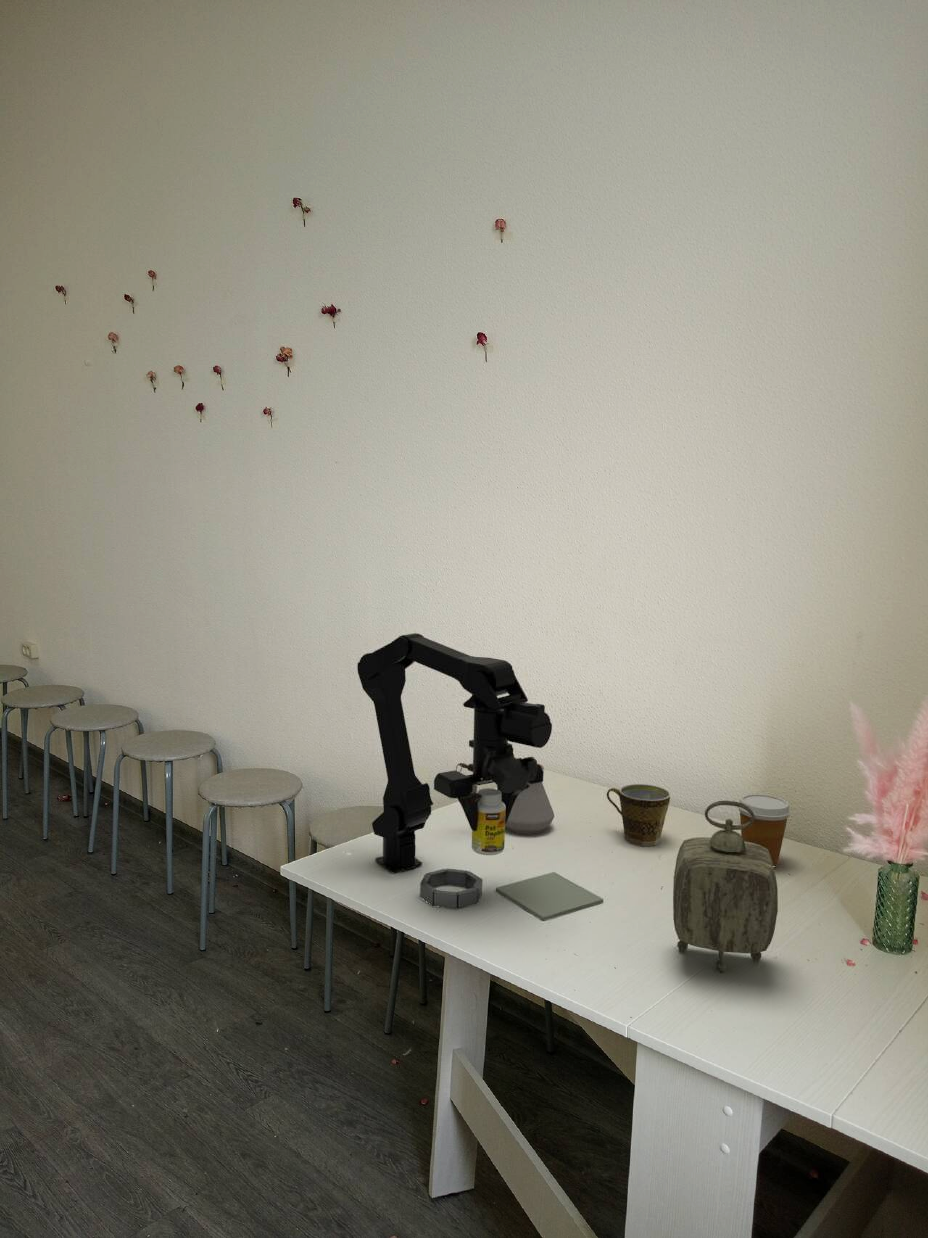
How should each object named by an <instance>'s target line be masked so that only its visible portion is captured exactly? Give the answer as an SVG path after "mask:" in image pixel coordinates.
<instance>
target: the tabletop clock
mask: <svg viewBox="0 0 928 1238" xmlns="http://www.w3.org/2000/svg"><path fill="white" fill-rule="evenodd" d="M739 802H740V801H735V800H718V801H715V802H712V803H711V804H709V805H708V806H707V807H706V808H705V810H704V818H705V820H706V821H707V822H708V824H710V825H711V826H714V827H716V828H718V829H720V830H717V831H716V832H714V833H713V834H712V835H711V837H707V836H705V837H703V836H702V837H701V836H699V837H697V836H696V837H692V838H688V839H685V840H683V841H682V843H681V845H680V847H679V849H678V852H677V857H676V860H675V867H674V874H673V885H672V886H673V887H672V888H673V890H672V892H673V893H672V896H673V897H672V904H673V905H672V908H673V909H672V911H673V917H672V918H673V925H674V931H675V933H676V935H677V938H678V940H679V941H677V945H676V947H677V948H678V950H679V951H681V952H684V951H686V950H688V948H689V946H693V947H696V948H700V949H701V948H702V949H706V950H711V951H716V952H718V953H717V954H718V960H717V961H715V963H714V968H715V970H716V971H717V972H719V973H724V972H725V971H726V969H727V964H726V963H725V961H724V953H735V954H750V958H751V959H752V961H756V962H757V961H760V960H761V959H762V952H765V951H767V950H768V949H769V947H770V945H771V943H772V940H773V937H774V935H775V929H776V923H777V917H778V911H779V908H778V904H779V900H778V899H779V898H778V895H779V892H778V882H777V876H776V872H775V868H774V867H773V863H772V859H771V856H770V853H769V851H768V849H766V848H764V847H762V846H760V845H758V844H755V843H750V842H745V841H744V839H743V837H742V836H741V833H739V832H737V831H741V829H745V828H748V827H749V826H751V825H752V824H753V822H754V820H755V816H754V813H753V811H752V810H751V809H750V808H749V807H748V806H746V805H744V804H743V803H739ZM719 806H730V807H737V808H738V807H741V808H743V809H745V810H746V811H748V812H749V813H750V815H751V817H752V819H751V821H750V822H749V823H746V824H743V825H741V824H733V823H734V822H733V819H730V818H728V819H726V820H725V823H721V822H718V821H715V820H713V819H711V818H710V817H709V812H710V811H711V810H712V809H714V808H715V807H719Z"/></svg>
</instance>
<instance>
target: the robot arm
mask: <svg viewBox="0 0 928 1238" xmlns="http://www.w3.org/2000/svg"><path fill="white" fill-rule="evenodd" d="M414 663H417V664H419V665H422V666H424V667H427V668H429V669H431V670H434V671H436V672H438V673H440V674H443V675H445V676H447V677H450V678H452V679H454V680H456V681H457V682H458V683H459V684H460V685H461V687H462V688H463V689H464V690H465V691H466V692H468V693H469V694H471V696H470V697H469V698H468V699H467V700H466V701H464V702H463V704H462V705H463V707H464V708H469V709H473V737H472V739H469V740H468V747H470V748H471V749H473V750H472V752H473V753H472V763H469V764H468V765H469V770H468V771H469V772H472V774H467V775H466V774H464V773H462V772H460V771H458V770H457V771H456V769H455V770H450V771H449V770H448V771H443V772H438V773H437V774H436V775H435V776H434V779H433V790H434V791H437V792H438V793H440V794H442V795H444V796H445V797H447V798H449V799H457V800H458V802H459V803H460V806H461V809H462V810H463V813H464V816H465V818H466V820H467V823H468V825H469V827H470V829H471V831H472V830H473V831H476V830H477V824H478V801H479V800H480V799H481V797H482V795H480V794H478V786H482V785H487V784H493V783H494V784H496V789H497V790H500V791H501V798H502V799H501V801H502V802H503V803H504V804H505V806H506V813H505V824H506V823H507V820H508V818H509V815H510V812H511V810H512V807H513V805H514V802H515V800H516V798H517V796H518V795H519V794H520V793H521V792H522V791H524V790H525V789H528V788H529V785H527V782H528V783H529V784H534V783H539V782H542V783H543V782H544V770H543V769H542V767H541V766H540V765H541V764H540V765H539V763H538V761H537V759H536V758H535V757H534V756H528V757H524V758H522V757H519V758H516V757H515V754H514V746H513V744H511V743H514V744H518V745H524V746H528V747H533V748H537V749H541V748H543V747H545V746H546V745H547V744H548V742H549V740H550V737H551V736H552V731H553V724H552V722H551V719H550V716H549V714H548V713H547V712H546V711H545V709H546V707H545V704H541V703H528V701H529V700H528V699H529V698H528V697H527V694H526V693H525V691H524V690H523V688H522V686H521V684H520V682H519V680H518V678H517V676H516V674H515V671H514V669H513V665H512V664H511V663H510V662H509V661H507V660H504V659H499V658H493V657H483V656H473V655H469V654H467V653H465V652H461V651H459V650H457V649H454V648H452V647H449V646H448V645H447V646H446V645H445V644H442V643H439V642H436V641H435V640H431V639H429V638H427V637H424V636H423V635H422V634H421V633H420V634H419V633H416V632H414V633H407V634H402V635H399V636H398V637H396V638H395V639H393V640H392V641H391V642H389V643H388V644H386V645H383V646H382V647H380V648H378V649H376V650H373V652H369V653H364V654H363V655H362V656H361V657H360V659H359V661H358V662H357V666H356V668H357V674H358V677H359V680H360V684H361V687H362V690H363V691H364V692H365V694H366V695H367V696H368V698H369V699H370V700H371V701H372V702H373V705H374V710H375V716H376V722H377V727H378V732H379V733H378V734H379V738H380V743H381V749H382V755H383V761H384V766H385V771H386V772H385V773H386V777H387V783H386V787H385V790H384V793H383V797H382V806H383V812H382V813H381V814H380V815H379V816H377V817H376V818H375V819H374V820H373V821H371V822H372V823H371V827H372V830H373V834H374V835H375V836H378V837H380V838H381V837H382V856H378V857H375V859H374V860H375V862H377V863H378V864H379V865H380V866H382V867H383V868H385V869H386V870H387V871H389V872H390V873H397V872H402V871H406V870H408V869H414V868H417V867H421V866H423V862H422V861H420V860H419V859H417V858H416V849H417V848H416V846H417V845H416V833H415V832H416V831H418V830H422V829H424V828H425V825H426V822H427V820H428V819H429V817H430V816H431V815H432V806H433V805H434V802H433V800H432V797H431V791H430V789H431V788H430V785H429V783H427V782H426V783H422V782H421V781H420V779H419V778H418V777H417V775H416V773H415V768H414V764H413V763H414V761H413V757H412V750H411V744H410V741H409V736H408V730H407V724H406V720H405V719H406V718H405V714H404V709H403V703H402V694H403V692H404V688H405V684H406V679H407V678H406V677H407V676H406V669H408V668H409V667H410V666H411V665H413V664H414ZM506 694H508V695H506ZM503 695H505V696H503ZM499 696H500V697H499ZM509 742H510V743H509Z"/></svg>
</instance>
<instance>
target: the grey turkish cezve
mask: <svg viewBox="0 0 928 1238" xmlns="http://www.w3.org/2000/svg"><path fill="white" fill-rule="evenodd" d="M538 764H539V763H538ZM539 765H540V766H541V767H542V769H543V771H544V769H545V767H544V765H542V764H539ZM459 766H460V770H459V772H460V773H462V769H467V771H469V764H466V763H465V762H460V763H458V764H457V765H456V767H455V770H456V771H458V767H459ZM527 785H529V788H528V789H525V790H524V791H522V792H521V793H520V794H519V795H518V796H517V798H516V800H515V802H514V805H513V807H512V810H511V812H510V815H509V818H508V820H507V823H506V824H505V827H507V829H508V830H510V831H511V832H513V833H517V834H522V835H533V834H539V833H542V832H543V831H544V830H545V829H546V828H548V827H549V826H550V825H551V824H552V822H553V820H554V818H555V813H554V810H553V807H552V804H551V802H550V799H549V797H548V794H547V792H546V789H545V785H544V784H543V782H539V783H534V784H529V783H528V782H527Z"/></svg>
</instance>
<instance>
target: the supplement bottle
mask: <svg viewBox="0 0 928 1238" xmlns="http://www.w3.org/2000/svg"><path fill="white" fill-rule="evenodd" d="M477 793H478V794H480V795H482V797H481V799H480V800H479V801H478V824H477V830H476V831H473V830H472V829H471V849H472V851H473V852H474V853H476V854H478V855H481V856H482V855H483V856H496V855H499V854H501V853H502V852H503V851H504V850H505V844H506V843H505V841H506V840H505V838H506V837H505V836H506V825H505V813H506V806H505V804H504V803H503V802H502V801H501V799H502V798H501V791H500V790H497V788H491V787H490V788H487V787H486V788H482V789H479V790H477Z"/></svg>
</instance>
